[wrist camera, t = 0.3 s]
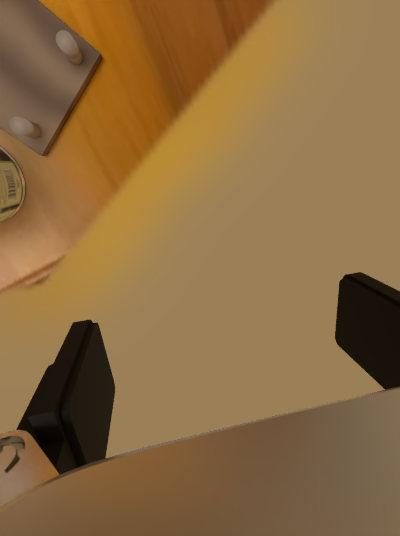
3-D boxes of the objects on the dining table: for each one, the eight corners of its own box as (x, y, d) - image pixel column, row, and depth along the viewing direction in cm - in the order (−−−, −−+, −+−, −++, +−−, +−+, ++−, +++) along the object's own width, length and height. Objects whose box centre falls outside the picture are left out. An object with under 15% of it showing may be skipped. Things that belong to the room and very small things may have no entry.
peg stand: (-17, -44, 28) (-55, -91, 22) (102, 58, 32) (93, 37, 27) (-73, 76, 30) (-119, 57, 25) (45, 155, 34) (28, 154, 29)
